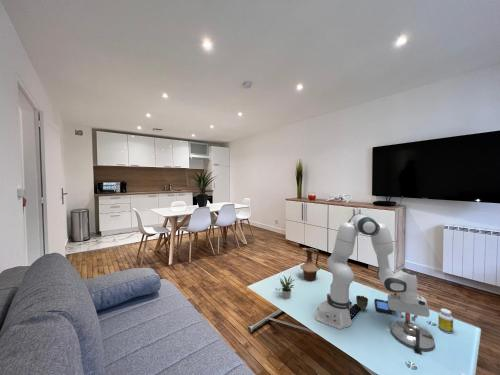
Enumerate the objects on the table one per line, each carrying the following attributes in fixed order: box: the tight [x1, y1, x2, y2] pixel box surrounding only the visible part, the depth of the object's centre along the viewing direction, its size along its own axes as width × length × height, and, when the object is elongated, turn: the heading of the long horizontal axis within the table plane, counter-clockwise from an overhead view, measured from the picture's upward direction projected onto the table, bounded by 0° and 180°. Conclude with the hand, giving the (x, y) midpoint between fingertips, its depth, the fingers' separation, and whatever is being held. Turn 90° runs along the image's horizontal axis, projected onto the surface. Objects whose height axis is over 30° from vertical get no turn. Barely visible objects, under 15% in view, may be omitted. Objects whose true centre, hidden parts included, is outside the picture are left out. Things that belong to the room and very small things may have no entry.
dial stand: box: [412, 323, 423, 355], centre depth 112 cm, size 3×8×12 cm, turn 155°
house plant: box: [279, 275, 297, 300], centre depth 162 cm, size 14×14×16 cm
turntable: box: [390, 313, 435, 349], centre depth 120 cm, size 20×20×8 cm
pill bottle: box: [437, 308, 454, 334], centre depth 125 cm, size 6×6×12 cm
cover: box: [403, 321, 416, 337], centre depth 120 cm, size 7×7×5 cm
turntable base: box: [390, 330, 436, 353], centre depth 120 cm, size 20×20×1 cm
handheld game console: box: [374, 292, 398, 316], centre depth 147 cm, size 16×13×9 cm
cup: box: [355, 295, 369, 311], centre depth 146 cm, size 8×7×8 cm
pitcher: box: [300, 247, 321, 282], centre depth 191 cm, size 18×17×28 cm
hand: (407, 319), depth 127 cm, fingers open, 4 cm apart
